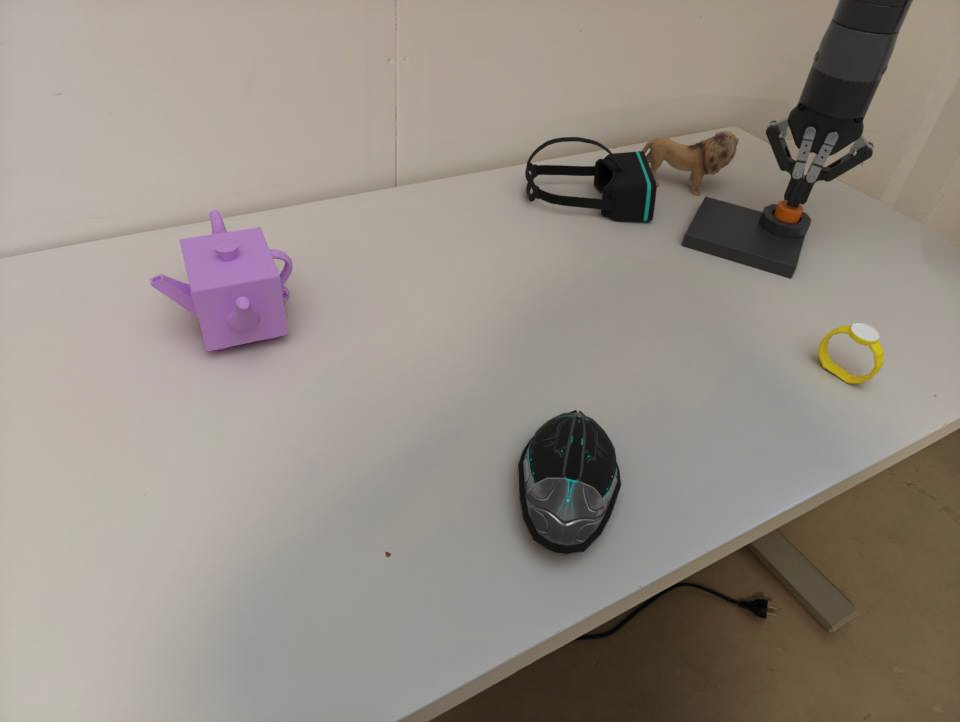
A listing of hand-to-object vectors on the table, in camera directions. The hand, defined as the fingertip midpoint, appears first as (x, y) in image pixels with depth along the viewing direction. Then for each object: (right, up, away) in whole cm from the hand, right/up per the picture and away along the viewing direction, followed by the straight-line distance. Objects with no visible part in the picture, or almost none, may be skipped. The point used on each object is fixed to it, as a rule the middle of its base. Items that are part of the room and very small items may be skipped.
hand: (792, 203), depth 90 cm
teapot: (-66, -17, -18) cm, 71 cm away
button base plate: (-6, -4, +2) cm, 7 cm away
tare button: (0, -1, +1) cm, 2 cm away
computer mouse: (-33, -31, -31) cm, 55 cm away
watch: (-3, -22, -17) cm, 28 cm away
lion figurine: (-11, +6, +14) cm, 19 cm away
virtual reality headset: (-26, +2, +8) cm, 27 cm away
